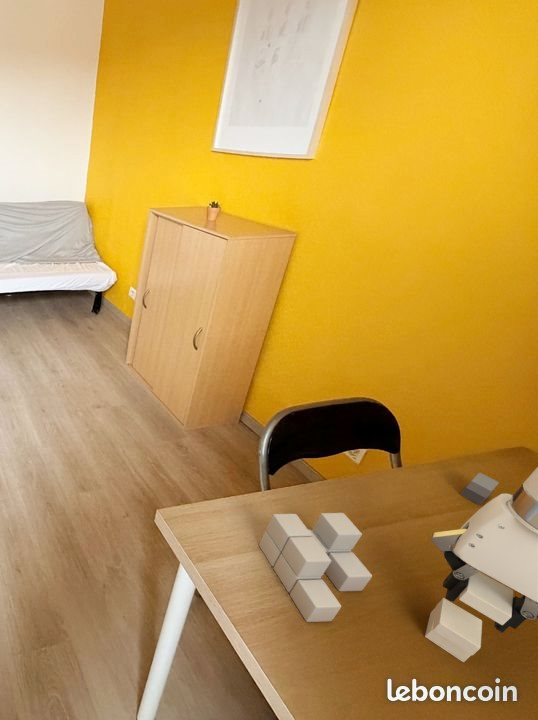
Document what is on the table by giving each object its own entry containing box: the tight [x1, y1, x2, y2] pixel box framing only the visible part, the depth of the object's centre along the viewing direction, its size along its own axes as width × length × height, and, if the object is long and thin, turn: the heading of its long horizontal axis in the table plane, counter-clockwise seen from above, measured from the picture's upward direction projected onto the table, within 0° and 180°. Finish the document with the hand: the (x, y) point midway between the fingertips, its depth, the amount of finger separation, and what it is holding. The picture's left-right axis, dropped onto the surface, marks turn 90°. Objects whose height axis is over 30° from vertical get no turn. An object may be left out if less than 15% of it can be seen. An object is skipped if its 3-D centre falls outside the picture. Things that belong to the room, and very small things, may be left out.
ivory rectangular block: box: [424, 597, 483, 663], centre depth 58 cm, size 5×4×4 cm
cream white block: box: [458, 571, 514, 625], centre depth 54 cm, size 5×4×2 cm
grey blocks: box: [460, 472, 500, 506], centre depth 80 cm, size 5×3×4 cm, turn 116°
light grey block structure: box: [258, 512, 373, 623], centre depth 64 cm, size 12×12×8 cm
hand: (474, 606), depth 55 cm, fingers closed on cream white block, 4 cm apart
